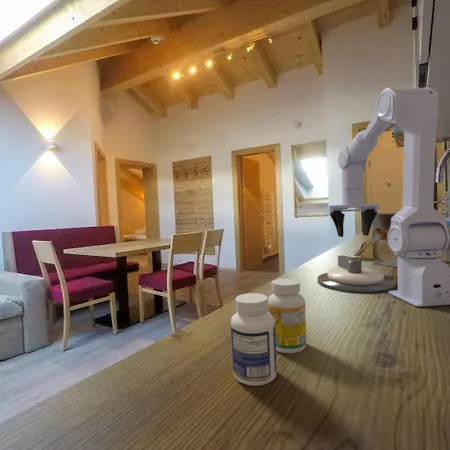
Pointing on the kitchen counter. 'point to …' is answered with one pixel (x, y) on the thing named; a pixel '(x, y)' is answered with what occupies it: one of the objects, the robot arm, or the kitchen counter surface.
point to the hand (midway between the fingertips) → (353, 236)
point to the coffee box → (382, 241)
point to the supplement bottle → (288, 315)
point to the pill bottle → (253, 340)
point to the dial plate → (374, 288)
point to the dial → (354, 272)
